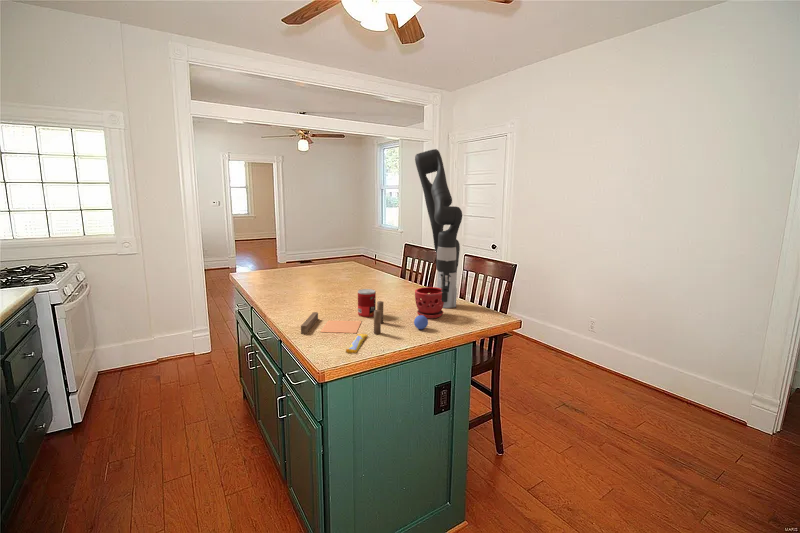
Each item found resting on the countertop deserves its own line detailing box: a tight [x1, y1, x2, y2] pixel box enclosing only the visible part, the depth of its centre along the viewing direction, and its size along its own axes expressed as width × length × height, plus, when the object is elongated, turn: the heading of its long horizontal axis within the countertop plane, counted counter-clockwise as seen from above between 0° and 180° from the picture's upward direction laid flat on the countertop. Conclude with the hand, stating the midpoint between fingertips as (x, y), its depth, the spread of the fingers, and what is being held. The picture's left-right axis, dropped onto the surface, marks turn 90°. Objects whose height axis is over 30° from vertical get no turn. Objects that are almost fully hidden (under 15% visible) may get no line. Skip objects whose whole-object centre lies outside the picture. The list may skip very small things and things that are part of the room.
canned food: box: [357, 288, 377, 318], centre depth 168 cm, size 8×8×11 cm
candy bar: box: [345, 333, 369, 354], centre depth 134 cm, size 17×4×2 cm, turn 172°
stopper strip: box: [300, 311, 319, 335], centre depth 153 cm, size 2×18×3 cm, turn 178°
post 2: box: [373, 309, 382, 335], centre depth 145 cm, size 3×3×9 cm
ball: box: [413, 315, 429, 330], centre depth 151 cm, size 6×6×6 cm
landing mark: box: [320, 320, 362, 334], centre depth 153 cm, size 14×14×1 cm
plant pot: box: [414, 286, 444, 320], centre depth 168 cm, size 13×13×12 cm
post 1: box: [376, 300, 384, 325], centre depth 158 cm, size 3×3×9 cm
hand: (444, 301), depth 149 cm, fingers closed
